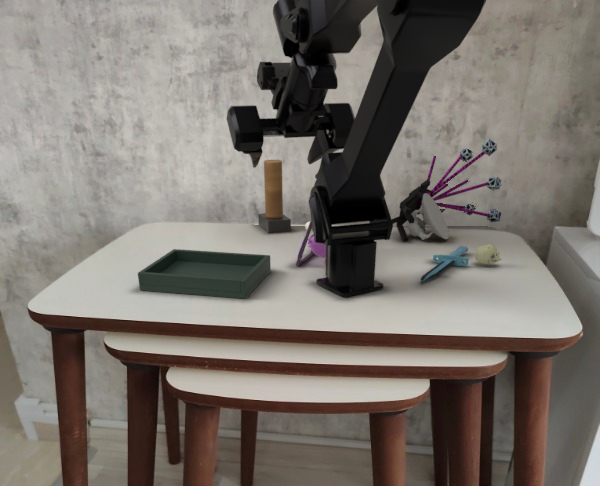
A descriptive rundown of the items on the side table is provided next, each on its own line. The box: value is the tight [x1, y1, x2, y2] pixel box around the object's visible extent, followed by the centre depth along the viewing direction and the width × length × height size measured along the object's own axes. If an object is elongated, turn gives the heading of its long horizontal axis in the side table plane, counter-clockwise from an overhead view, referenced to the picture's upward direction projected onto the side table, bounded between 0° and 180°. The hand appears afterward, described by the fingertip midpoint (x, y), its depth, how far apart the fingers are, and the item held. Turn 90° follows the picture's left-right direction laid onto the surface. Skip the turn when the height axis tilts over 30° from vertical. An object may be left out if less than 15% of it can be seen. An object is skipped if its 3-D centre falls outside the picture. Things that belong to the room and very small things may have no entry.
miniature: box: [407, 193, 450, 241], centre depth 98 cm, size 8×8×5 cm
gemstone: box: [474, 243, 503, 265], centre depth 85 cm, size 3×4×3 cm
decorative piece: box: [391, 138, 503, 243], centre depth 102 cm, size 14×14×30 cm
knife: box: [420, 245, 469, 283], centre depth 84 cm, size 17×1×5 cm
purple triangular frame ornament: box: [295, 221, 326, 267], centre depth 87 cm, size 7×5×9 cm
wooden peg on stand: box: [257, 159, 292, 234], centre depth 102 cm, size 6×4×11 cm, turn 20°
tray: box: [137, 248, 272, 300], centre depth 80 cm, size 14×11×2 cm
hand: (281, 163), depth 96 cm, fingers open, 9 cm apart
